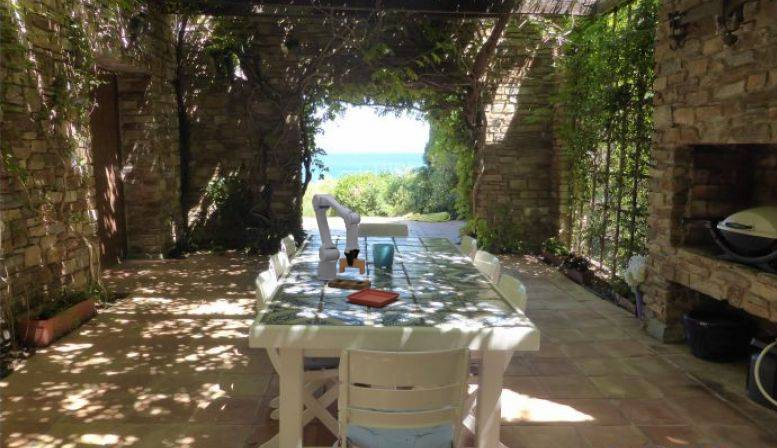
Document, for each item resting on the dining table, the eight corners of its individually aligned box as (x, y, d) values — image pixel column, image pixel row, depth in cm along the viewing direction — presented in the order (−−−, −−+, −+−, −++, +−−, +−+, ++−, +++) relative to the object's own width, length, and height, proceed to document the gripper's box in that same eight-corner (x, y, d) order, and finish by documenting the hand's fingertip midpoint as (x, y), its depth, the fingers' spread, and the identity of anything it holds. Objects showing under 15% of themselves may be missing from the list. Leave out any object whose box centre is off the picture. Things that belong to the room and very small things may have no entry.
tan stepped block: (339, 273, 271) (339, 259, 270) (342, 271, 275) (342, 257, 274) (362, 274, 267) (362, 260, 266) (365, 273, 271) (365, 259, 270)
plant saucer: (367, 294, 258) (367, 287, 257) (401, 300, 249) (401, 293, 248) (345, 303, 242) (345, 296, 242) (380, 310, 233) (380, 302, 233)
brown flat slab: (327, 287, 268) (327, 282, 268) (335, 283, 276) (335, 278, 276) (364, 291, 262) (364, 285, 262) (371, 286, 271) (371, 281, 270)
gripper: (354, 240, 261) (354, 268, 262) (364, 235, 274) (364, 262, 276) (340, 239, 263) (340, 267, 264) (351, 235, 276) (351, 261, 278)
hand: (352, 264), depth 270 cm, fingers closed on tan stepped block, 4 cm apart
